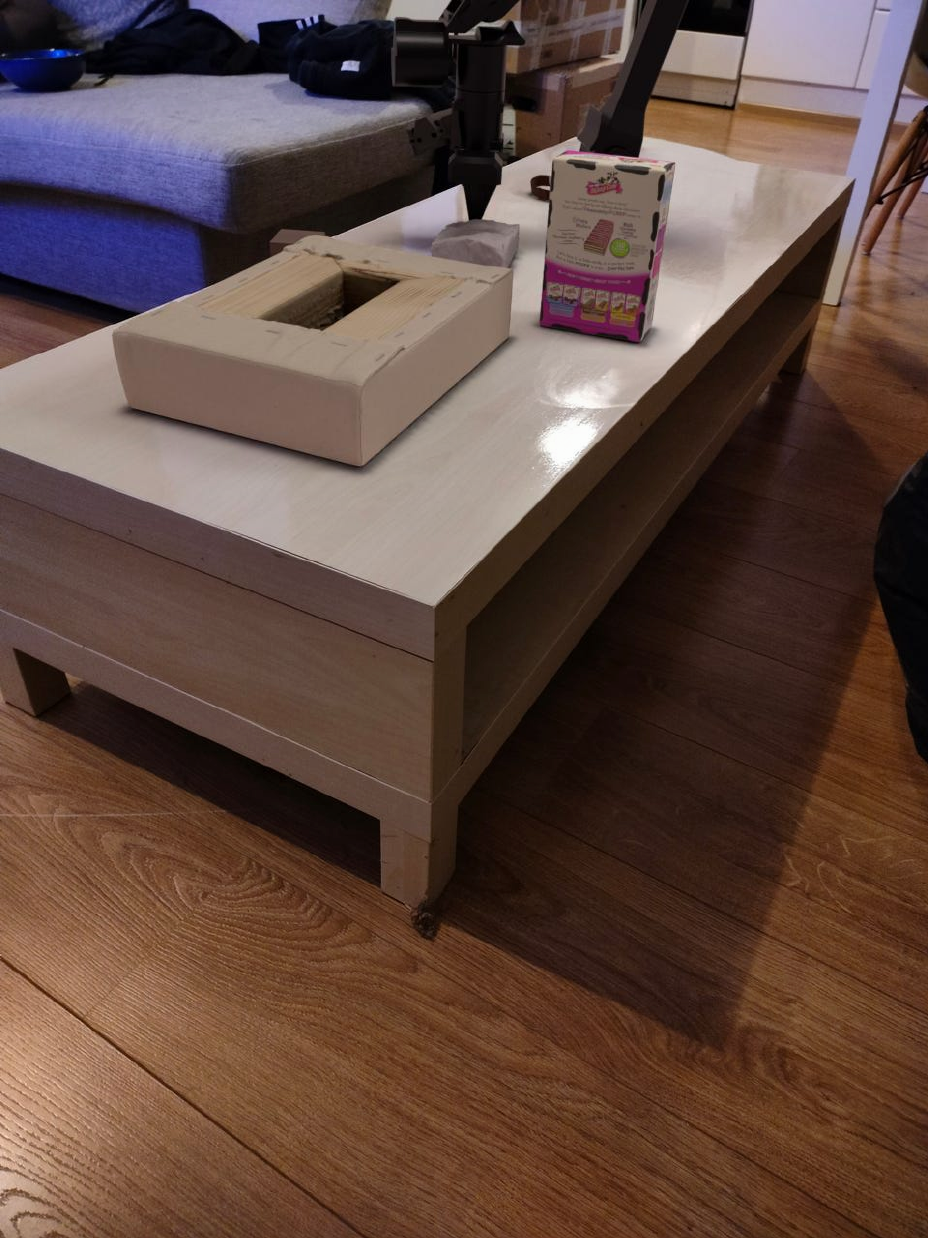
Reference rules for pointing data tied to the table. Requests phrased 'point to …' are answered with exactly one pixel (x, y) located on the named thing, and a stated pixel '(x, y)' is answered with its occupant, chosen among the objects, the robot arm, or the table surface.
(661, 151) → the table surface
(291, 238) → the walnut cube
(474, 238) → the stone block
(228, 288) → the box
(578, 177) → the candy bar box
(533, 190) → the watch
